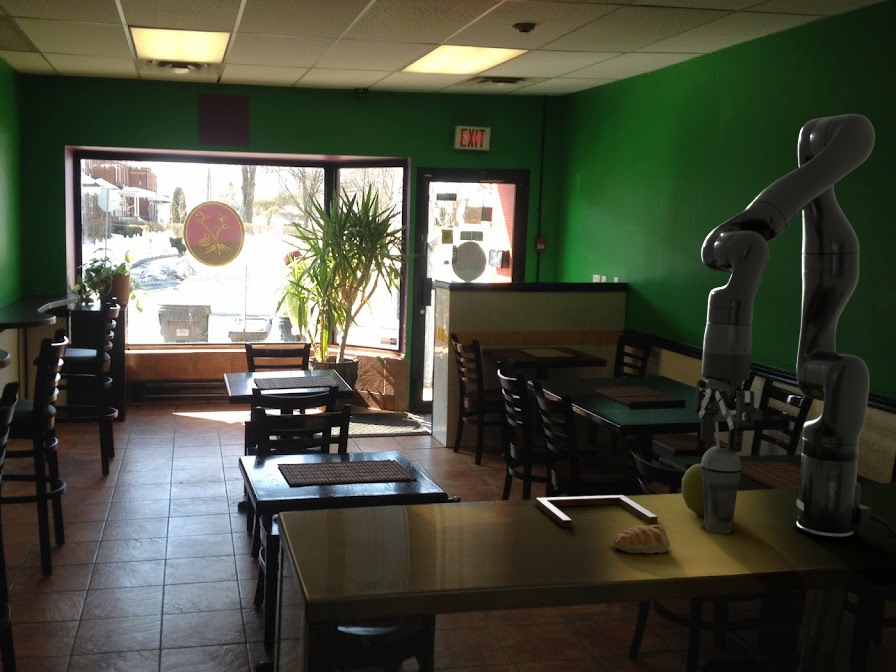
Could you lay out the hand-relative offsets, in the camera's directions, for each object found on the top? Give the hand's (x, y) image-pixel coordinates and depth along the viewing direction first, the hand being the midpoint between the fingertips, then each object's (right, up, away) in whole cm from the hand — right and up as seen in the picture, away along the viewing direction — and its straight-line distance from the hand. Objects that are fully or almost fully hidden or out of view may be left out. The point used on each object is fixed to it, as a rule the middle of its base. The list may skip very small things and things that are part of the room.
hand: (719, 446), depth 150 cm
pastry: (-12, -18, +3) cm, 22 cm away
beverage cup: (+5, -18, +14) cm, 23 cm away
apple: (+6, -17, +24) cm, 30 cm away
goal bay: (-16, -16, +22) cm, 31 cm away
